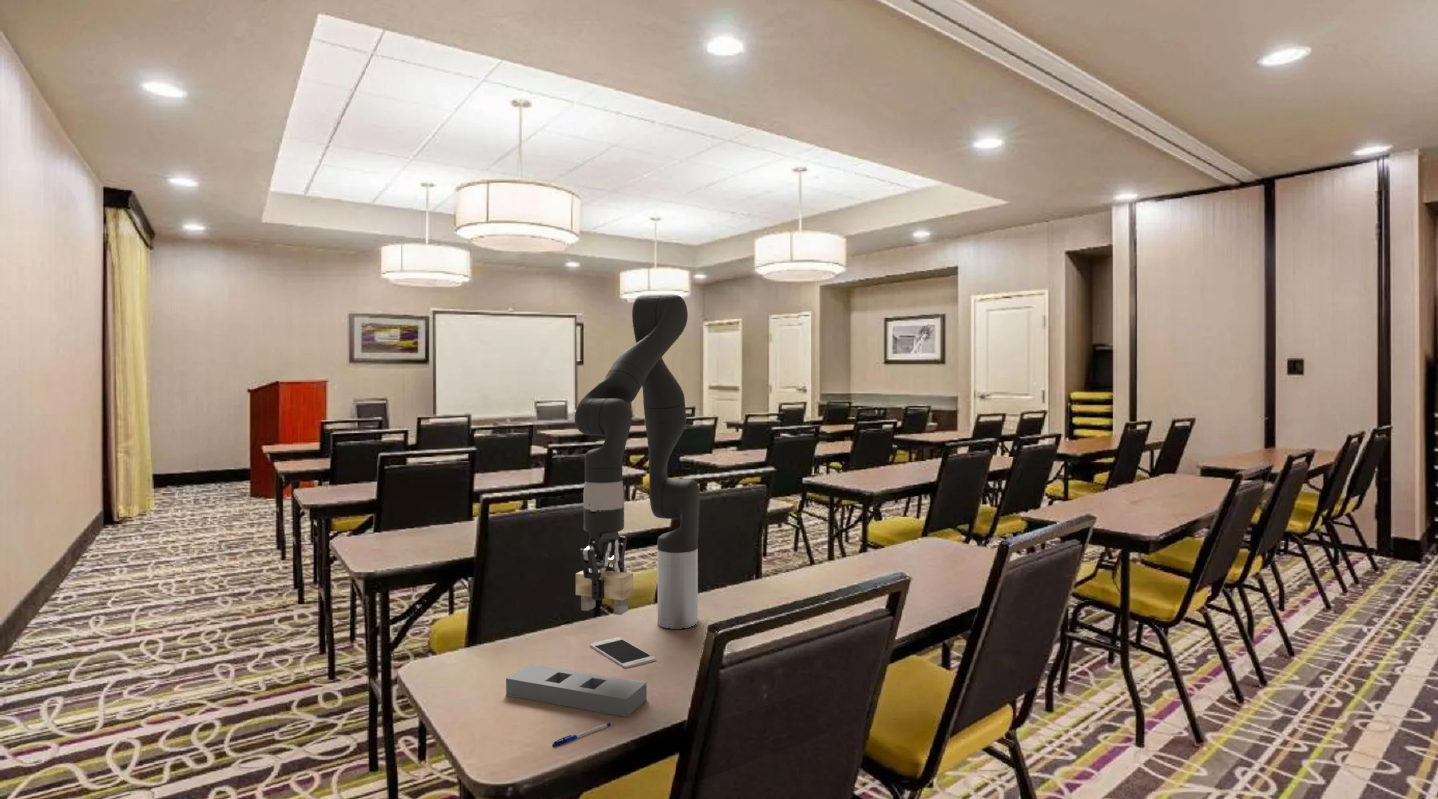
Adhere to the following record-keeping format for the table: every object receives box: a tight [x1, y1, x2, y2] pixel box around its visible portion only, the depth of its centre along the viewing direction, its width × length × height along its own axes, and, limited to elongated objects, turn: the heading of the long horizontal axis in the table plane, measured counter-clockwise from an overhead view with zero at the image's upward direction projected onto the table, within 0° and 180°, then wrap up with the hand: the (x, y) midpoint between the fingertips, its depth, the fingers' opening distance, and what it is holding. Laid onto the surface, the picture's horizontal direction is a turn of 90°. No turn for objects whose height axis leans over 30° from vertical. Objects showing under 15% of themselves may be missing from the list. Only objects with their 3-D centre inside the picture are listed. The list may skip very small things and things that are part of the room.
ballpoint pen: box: [551, 722, 612, 748], centre depth 114 cm, size 10×1×1 cm, turn 135°
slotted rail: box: [505, 663, 648, 718], centre depth 128 cm, size 24×7×3 cm, turn 69°
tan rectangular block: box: [575, 568, 634, 616], centre depth 137 cm, size 10×4×7 cm, turn 69°
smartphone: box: [589, 636, 657, 669], centre depth 150 cm, size 7×16×1 cm, turn 36°
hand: (604, 595), depth 137 cm, fingers closed on tan rectangular block, 4 cm apart
